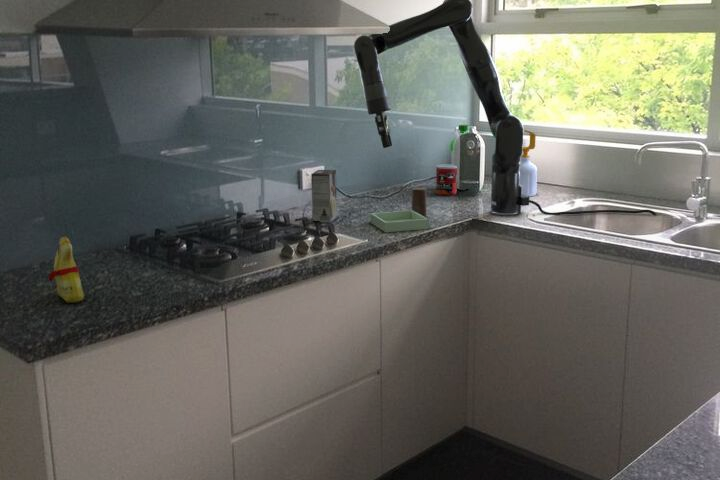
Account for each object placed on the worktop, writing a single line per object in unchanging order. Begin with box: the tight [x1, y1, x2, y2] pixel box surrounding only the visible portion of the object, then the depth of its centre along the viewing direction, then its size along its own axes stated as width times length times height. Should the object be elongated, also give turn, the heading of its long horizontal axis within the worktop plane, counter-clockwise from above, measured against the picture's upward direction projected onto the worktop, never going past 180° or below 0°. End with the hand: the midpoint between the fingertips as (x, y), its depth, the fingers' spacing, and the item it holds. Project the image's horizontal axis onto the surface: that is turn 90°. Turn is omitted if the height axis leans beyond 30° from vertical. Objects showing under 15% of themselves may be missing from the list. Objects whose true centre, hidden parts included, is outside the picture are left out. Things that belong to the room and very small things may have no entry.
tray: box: [369, 209, 430, 233], centre depth 265 cm, size 15×15×3 cm
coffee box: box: [310, 169, 338, 223], centre depth 274 cm, size 9×6×16 cm
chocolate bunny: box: [48, 236, 85, 304], centre depth 194 cm, size 7×11×15 cm, turn 36°
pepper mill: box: [411, 186, 427, 218], centre depth 275 cm, size 5×5×10 cm
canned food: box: [435, 163, 458, 197], centre depth 314 cm, size 8×8×11 cm
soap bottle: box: [519, 129, 538, 197], centre depth 310 cm, size 9×9×25 cm
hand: (387, 147), depth 270 cm, fingers open, 8 cm apart
